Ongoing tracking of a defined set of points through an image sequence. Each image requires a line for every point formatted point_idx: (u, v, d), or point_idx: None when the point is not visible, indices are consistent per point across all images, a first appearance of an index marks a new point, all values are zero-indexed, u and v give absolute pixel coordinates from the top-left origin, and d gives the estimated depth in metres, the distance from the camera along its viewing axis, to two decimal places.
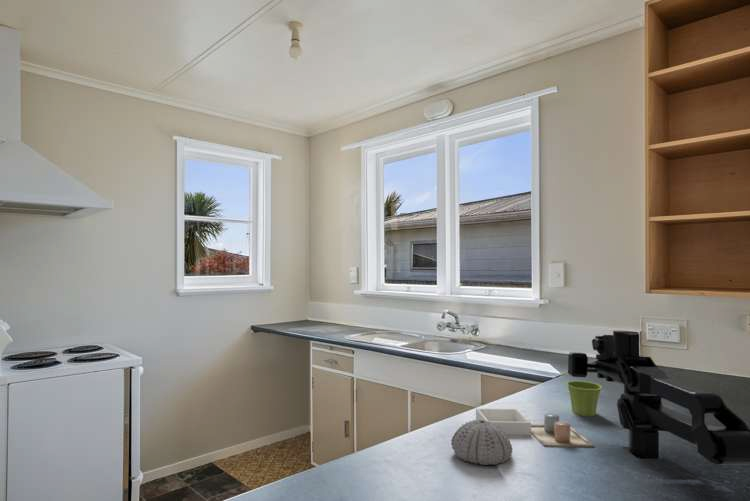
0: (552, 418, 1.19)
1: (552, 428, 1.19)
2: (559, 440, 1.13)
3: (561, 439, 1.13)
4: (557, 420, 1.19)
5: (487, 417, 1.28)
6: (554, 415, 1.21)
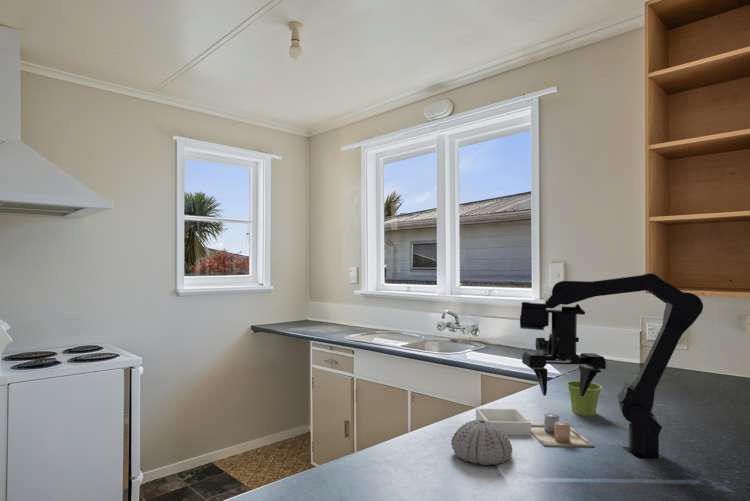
0: (552, 418, 1.19)
1: (552, 428, 1.19)
2: (559, 440, 1.13)
3: (561, 439, 1.13)
4: (557, 420, 1.19)
5: (487, 417, 1.28)
6: (554, 415, 1.21)
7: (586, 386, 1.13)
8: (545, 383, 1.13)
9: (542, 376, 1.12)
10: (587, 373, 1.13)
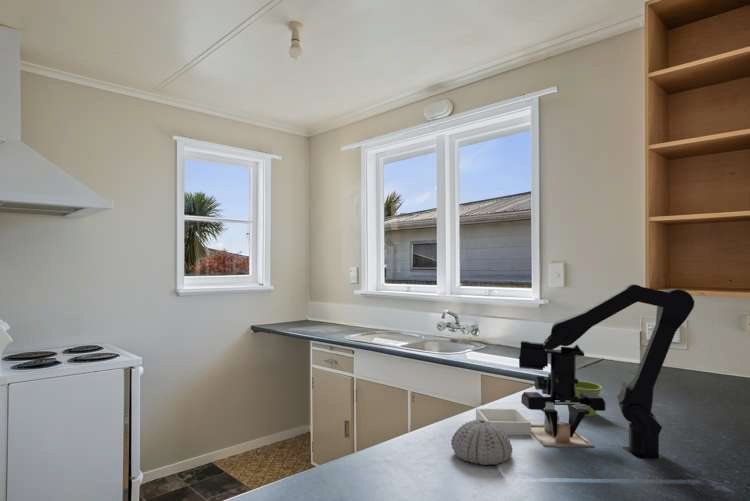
0: None
1: None
2: (559, 440, 1.13)
3: (561, 439, 1.13)
4: (557, 420, 1.19)
5: (487, 417, 1.28)
6: None
7: (575, 427, 1.13)
8: (555, 425, 1.12)
9: (552, 418, 1.12)
10: (576, 414, 1.12)
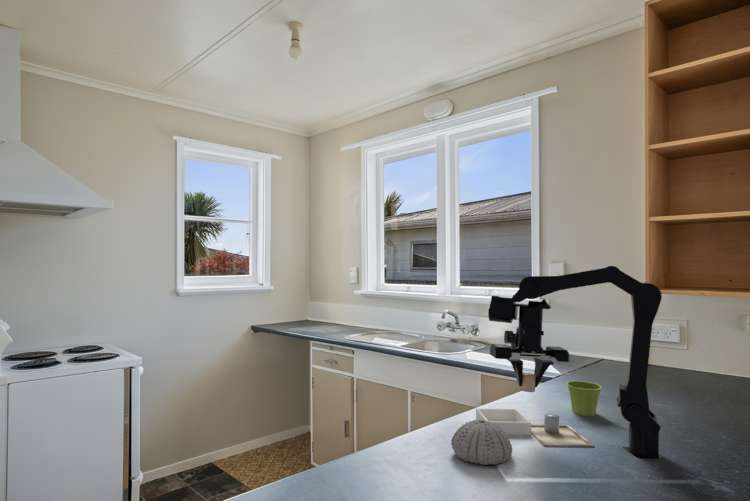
0: (552, 418, 1.19)
1: (552, 428, 1.19)
2: (524, 389, 1.18)
3: (526, 388, 1.17)
4: (557, 420, 1.19)
5: (487, 417, 1.28)
6: (554, 415, 1.21)
7: (539, 377, 1.18)
8: (520, 374, 1.17)
9: (518, 367, 1.17)
10: (540, 365, 1.17)
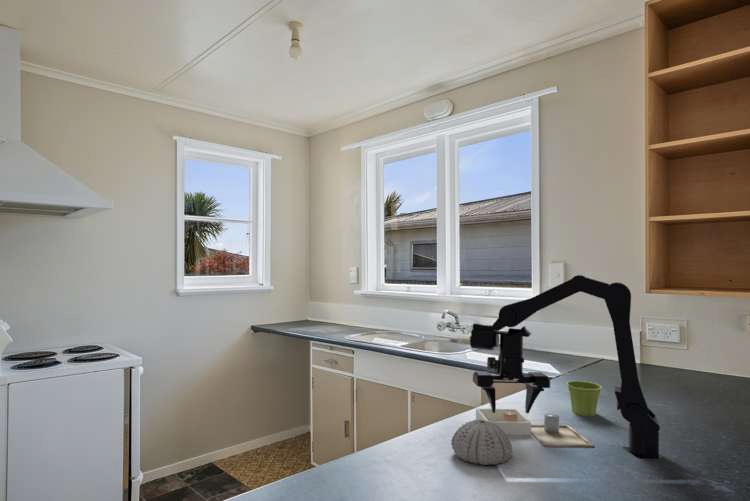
0: (552, 418, 1.19)
1: (552, 428, 1.19)
2: None
3: None
4: (557, 420, 1.19)
5: (487, 417, 1.28)
6: (554, 415, 1.21)
7: (530, 404, 1.20)
8: (494, 401, 1.20)
9: (491, 395, 1.19)
10: (531, 391, 1.20)
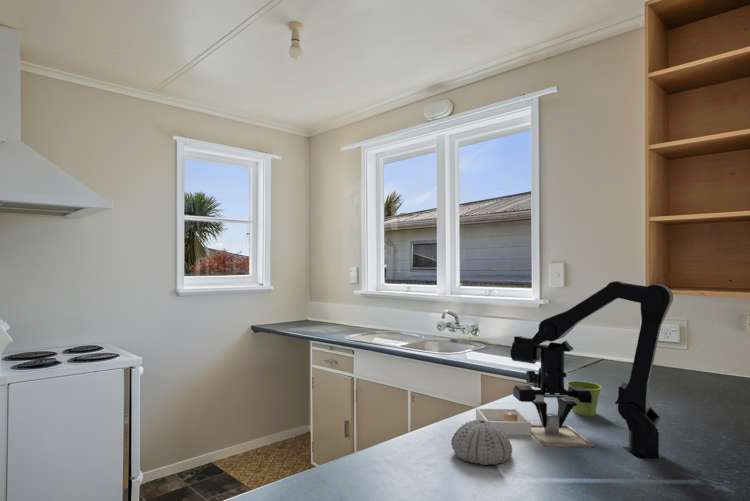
0: (552, 418, 1.19)
1: (552, 428, 1.19)
2: None
3: None
4: (557, 420, 1.19)
5: (487, 417, 1.28)
6: (554, 415, 1.21)
7: (563, 418, 1.19)
8: (545, 416, 1.19)
9: (542, 410, 1.18)
10: (564, 406, 1.19)
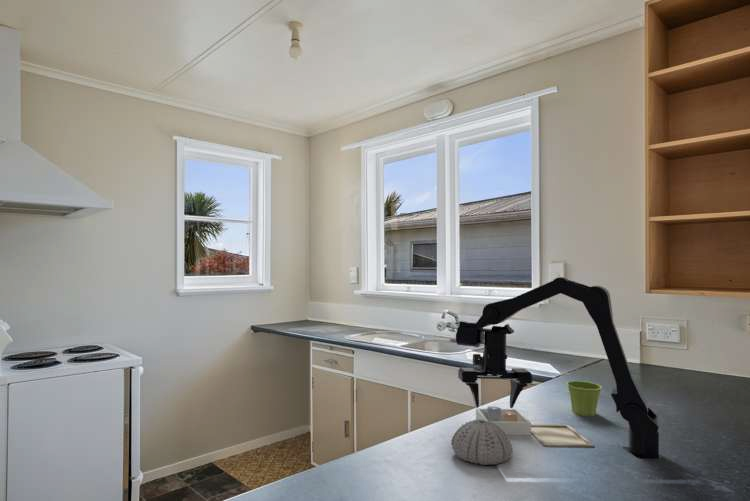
0: (494, 411, 1.24)
1: (493, 420, 1.24)
2: None
3: None
4: (498, 412, 1.24)
5: None
6: (496, 408, 1.26)
7: (514, 399, 1.24)
8: (477, 396, 1.24)
9: (474, 390, 1.23)
10: (515, 387, 1.24)
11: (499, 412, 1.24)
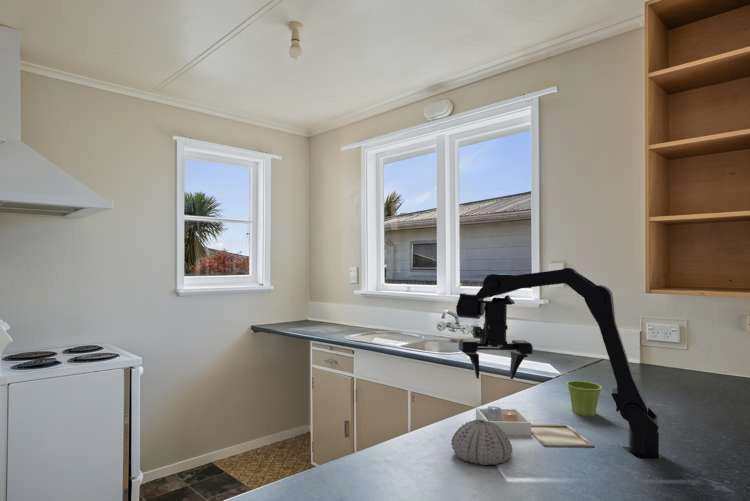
0: (494, 411, 1.24)
1: (493, 420, 1.24)
2: None
3: None
4: (498, 412, 1.24)
5: None
6: (496, 408, 1.26)
7: (515, 370, 1.25)
8: (477, 367, 1.24)
9: (474, 360, 1.23)
10: (515, 358, 1.24)
11: (499, 412, 1.24)
